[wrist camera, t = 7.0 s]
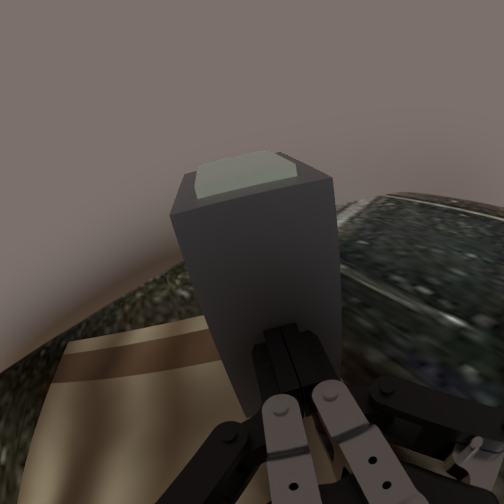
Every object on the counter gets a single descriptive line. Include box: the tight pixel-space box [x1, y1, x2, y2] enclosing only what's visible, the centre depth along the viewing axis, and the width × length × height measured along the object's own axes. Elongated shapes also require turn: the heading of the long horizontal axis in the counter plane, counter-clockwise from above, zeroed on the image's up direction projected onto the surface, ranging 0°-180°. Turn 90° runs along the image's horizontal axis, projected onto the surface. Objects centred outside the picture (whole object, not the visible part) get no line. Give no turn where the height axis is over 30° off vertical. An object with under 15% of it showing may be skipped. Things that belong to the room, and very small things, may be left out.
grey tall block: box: [170, 150, 342, 418], centre depth 17 cm, size 6×8×14 cm
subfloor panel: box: [17, 315, 343, 504], centre depth 17 cm, size 24×20×1 cm
